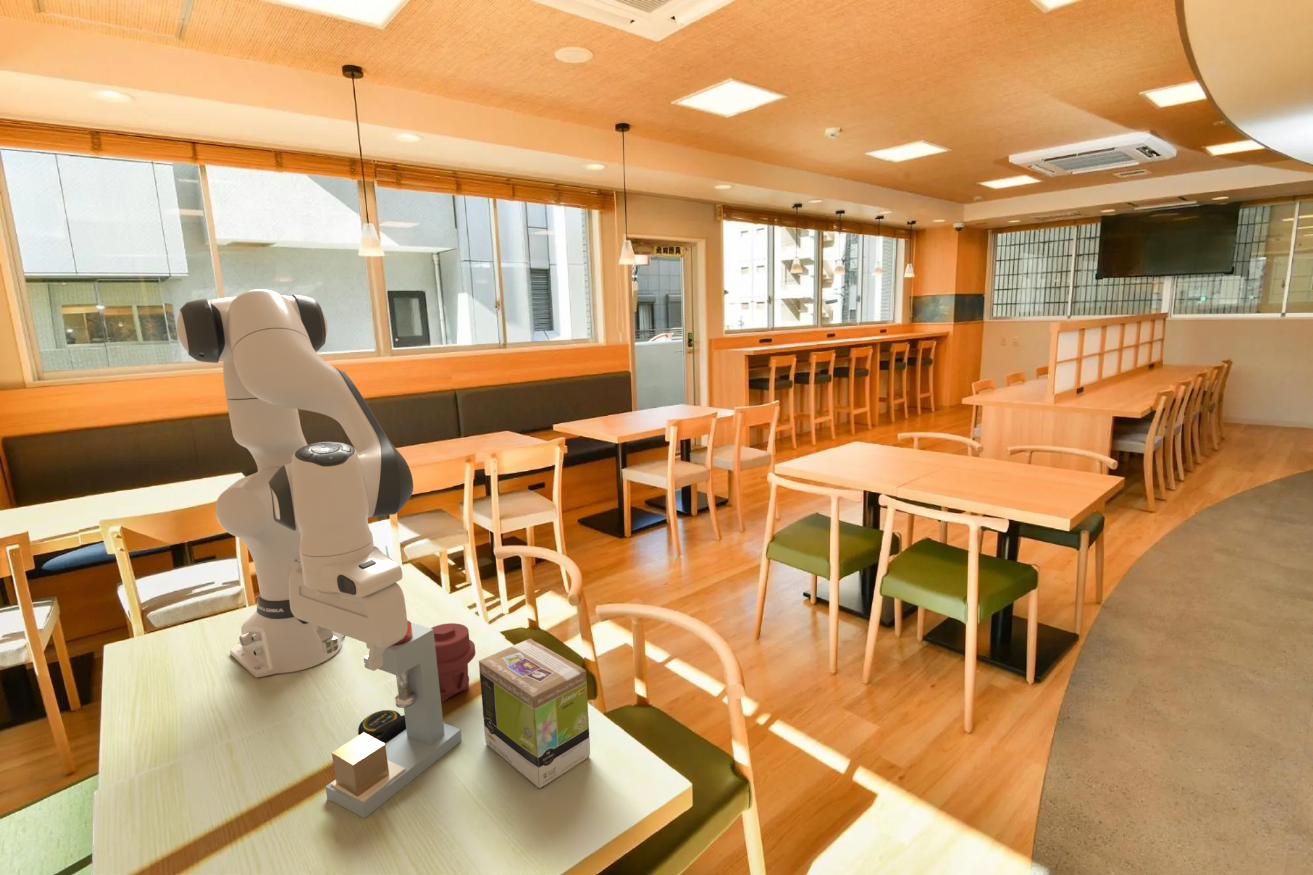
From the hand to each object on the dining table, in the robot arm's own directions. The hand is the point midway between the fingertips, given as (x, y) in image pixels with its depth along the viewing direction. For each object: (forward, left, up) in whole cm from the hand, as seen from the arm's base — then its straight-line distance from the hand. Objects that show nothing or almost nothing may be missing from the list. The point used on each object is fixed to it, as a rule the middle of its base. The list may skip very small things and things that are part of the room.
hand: (351, 658), depth 90 cm
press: (0, +5, -21) cm, 21 cm away
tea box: (+16, +18, -21) cm, 32 cm away
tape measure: (-7, +9, -21) cm, 24 cm away
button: (0, +8, -11) cm, 14 cm away
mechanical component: (-8, +23, -21) cm, 32 cm away
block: (0, -1, -19) cm, 19 cm away
